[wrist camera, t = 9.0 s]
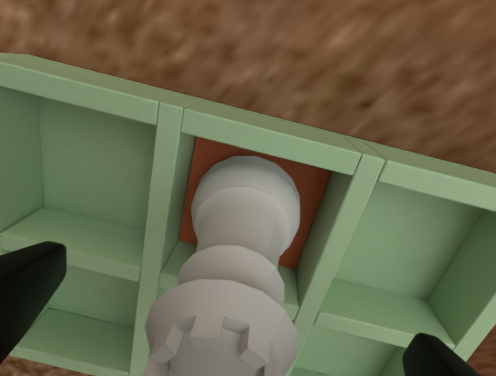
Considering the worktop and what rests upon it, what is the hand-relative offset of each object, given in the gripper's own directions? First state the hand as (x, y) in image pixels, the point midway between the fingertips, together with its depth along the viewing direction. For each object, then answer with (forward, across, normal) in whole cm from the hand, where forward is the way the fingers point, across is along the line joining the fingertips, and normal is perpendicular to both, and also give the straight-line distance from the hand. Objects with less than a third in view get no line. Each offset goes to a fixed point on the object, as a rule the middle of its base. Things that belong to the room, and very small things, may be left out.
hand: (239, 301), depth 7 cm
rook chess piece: (+6, 0, 0) cm, 6 cm away
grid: (+6, 0, +3) cm, 7 cm away
